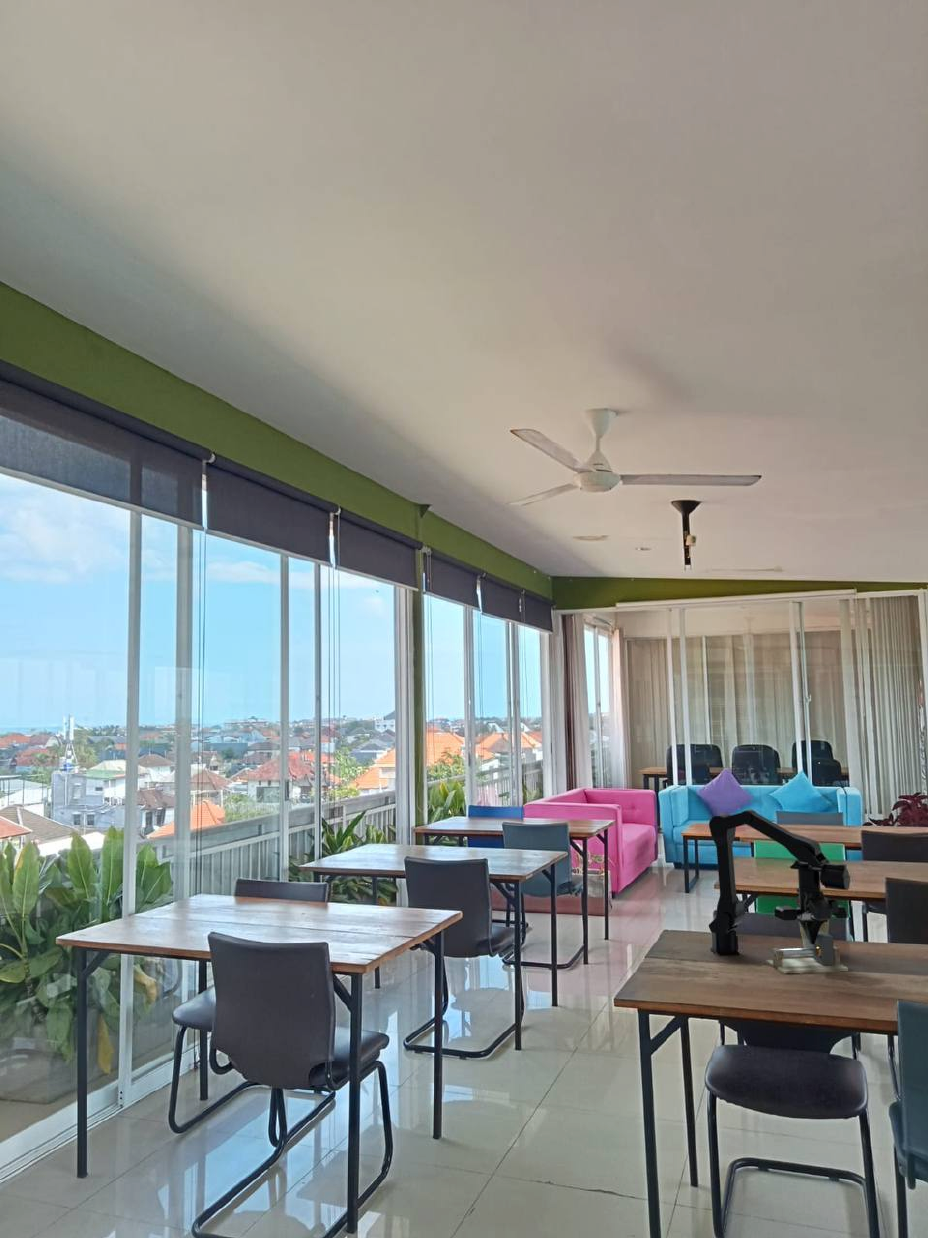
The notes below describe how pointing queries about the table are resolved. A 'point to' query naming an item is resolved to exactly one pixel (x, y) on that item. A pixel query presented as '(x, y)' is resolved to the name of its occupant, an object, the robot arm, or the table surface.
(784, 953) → the rod
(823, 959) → the collar
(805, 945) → the coffee cup
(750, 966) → the table surface
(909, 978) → the table surface
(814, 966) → the stand
